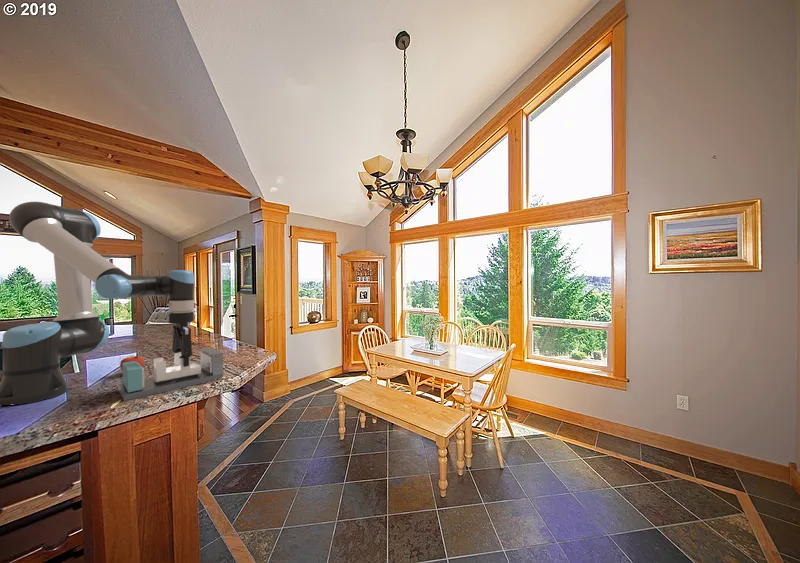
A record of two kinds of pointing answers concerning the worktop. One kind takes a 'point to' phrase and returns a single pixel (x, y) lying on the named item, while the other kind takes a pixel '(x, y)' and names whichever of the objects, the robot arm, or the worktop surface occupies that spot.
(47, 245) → the robot arm
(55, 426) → the worktop surface
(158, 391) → the vise base
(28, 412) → the worktop surface
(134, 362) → the block
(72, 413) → the worktop surface
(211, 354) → the block
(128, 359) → the apple
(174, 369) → the bracket
